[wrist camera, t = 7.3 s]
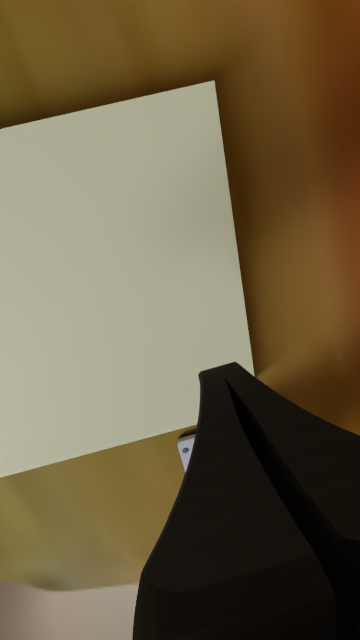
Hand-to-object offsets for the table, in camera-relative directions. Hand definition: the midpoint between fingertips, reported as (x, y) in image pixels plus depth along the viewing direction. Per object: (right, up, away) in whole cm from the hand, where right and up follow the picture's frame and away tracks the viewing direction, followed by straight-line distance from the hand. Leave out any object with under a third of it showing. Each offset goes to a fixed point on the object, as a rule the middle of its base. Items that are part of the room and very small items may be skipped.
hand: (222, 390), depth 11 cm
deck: (-10, +3, +8) cm, 13 cm away
